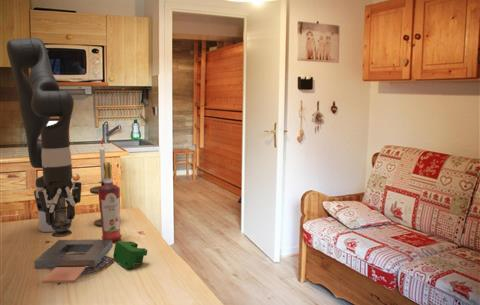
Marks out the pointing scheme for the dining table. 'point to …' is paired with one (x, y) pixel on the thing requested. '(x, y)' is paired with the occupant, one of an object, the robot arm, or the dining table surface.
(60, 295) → the dining table surface
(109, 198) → the liquor
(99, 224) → the candlestick
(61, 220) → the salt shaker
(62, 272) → the tile
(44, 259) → the grey square frame
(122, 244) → the clamp
